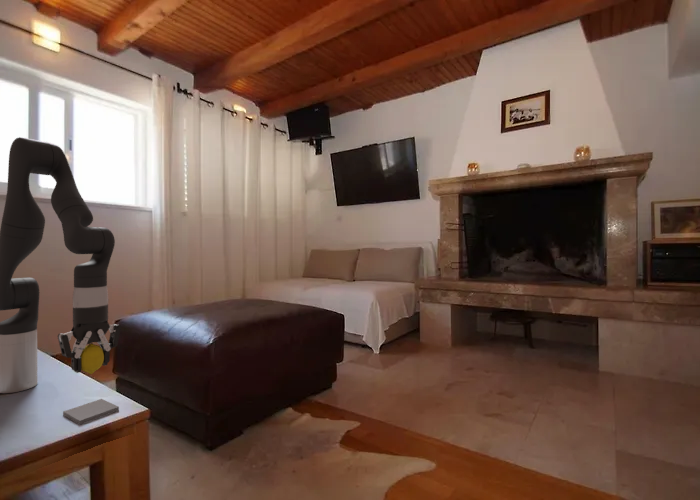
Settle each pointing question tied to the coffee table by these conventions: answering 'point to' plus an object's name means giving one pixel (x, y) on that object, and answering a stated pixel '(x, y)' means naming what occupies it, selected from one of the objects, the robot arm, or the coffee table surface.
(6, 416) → the coffee table surface
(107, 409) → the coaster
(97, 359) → the lemon
